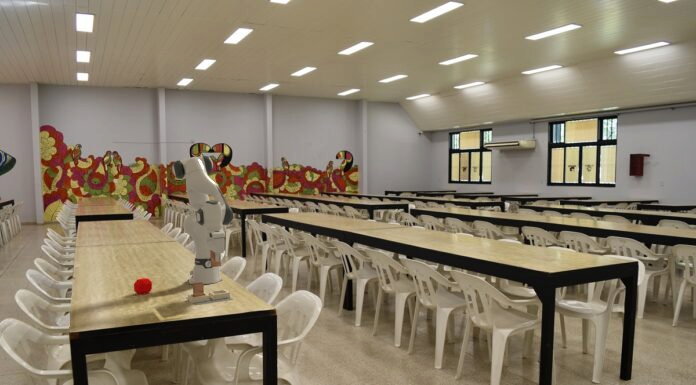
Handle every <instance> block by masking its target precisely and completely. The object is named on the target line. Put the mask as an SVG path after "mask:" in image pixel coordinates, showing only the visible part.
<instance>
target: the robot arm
mask: <svg viewBox="0 0 696 385" xmlns="http://www.w3.org/2000/svg"><path fill="white" fill-rule="evenodd" d="M213 169H214V162H213V160H212V158H211V157H210V156H208V155H202V156H192V157H188V158H184V159H181V160H179V159H178V160H176V161H174V162H173V163H172V170H171V171H172V174H173V175H174V176H175V179H177V180H179V179H180V180H182V179H185V187H186V192H187V197H188V202H189V205H190V208H192V209H193V210H195V211H196V214H194V215H189V216H187V217H185V219H184V220H183V223H182V225H183V227H182V228H183V230H184V232H185V233H187V234H188V235H189V237H191V239H192V241H193V244H194V250H195V251H194V252H195V257H194V266H193V268H192V270H190V271H189V276H191V277H189V278H188V283H189V284H190V285H193V283H199V282H202V283H203V284H204V285H209V284H216V283H218V282H220V281H223V280H224V279H223V277H221V273H220V271H221V269H220V266H218V267H212V266H211V260H210V250H211V251H213V252H215V261H216V262H217V261H219V256H221V254H224V253H225V249H226V247H225V246H226V245H225V244H226V242H225V238H226V232H225V231H224V226H228V225H229V224H231V223H232V221H233V220H234V211H233V209H232V208H231V206H230V205H229V204H228V202H227V199H226V198H225V196H224V194H223V192H222V190H221V188H220V186H219V185H218V183H217V182H215V181H213V180H212V179H211V178H210V176H209V175H210V174H211V173H212V172H213ZM209 196H210V197H212V198H213V200H212V199H211V200H210V197H209Z"/></svg>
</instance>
